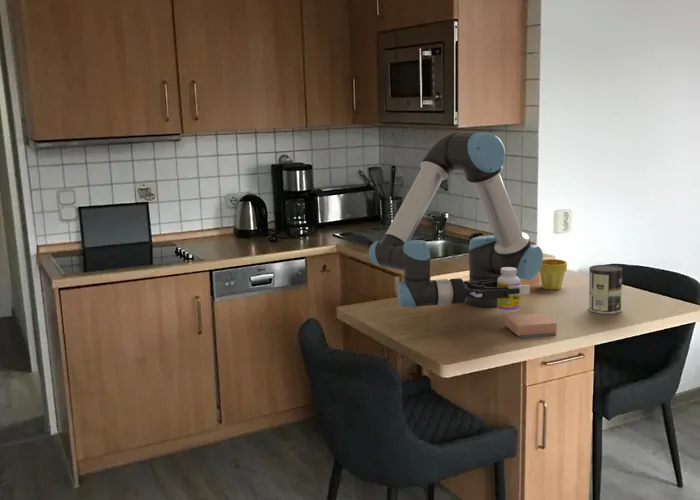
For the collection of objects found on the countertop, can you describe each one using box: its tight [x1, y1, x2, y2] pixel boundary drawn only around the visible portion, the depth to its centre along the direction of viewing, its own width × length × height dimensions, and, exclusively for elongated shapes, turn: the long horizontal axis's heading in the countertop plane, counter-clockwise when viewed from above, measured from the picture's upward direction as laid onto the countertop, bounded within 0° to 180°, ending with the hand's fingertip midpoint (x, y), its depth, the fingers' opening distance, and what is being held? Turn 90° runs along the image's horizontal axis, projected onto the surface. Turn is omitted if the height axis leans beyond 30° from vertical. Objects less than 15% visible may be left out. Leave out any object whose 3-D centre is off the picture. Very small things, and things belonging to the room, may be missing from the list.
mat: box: [518, 332, 557, 339], centre depth 230 cm, size 11×13×1 cm
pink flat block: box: [504, 312, 558, 337], centre depth 230 cm, size 3×11×12 cm
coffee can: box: [588, 264, 624, 315], centre depth 247 cm, size 10×10×14 cm
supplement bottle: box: [496, 267, 521, 314], centre depth 227 cm, size 7×7×13 cm
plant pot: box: [538, 258, 568, 291], centre depth 279 cm, size 10×10×10 cm
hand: (524, 286), depth 227 cm, fingers closed on supplement bottle, 7 cm apart
